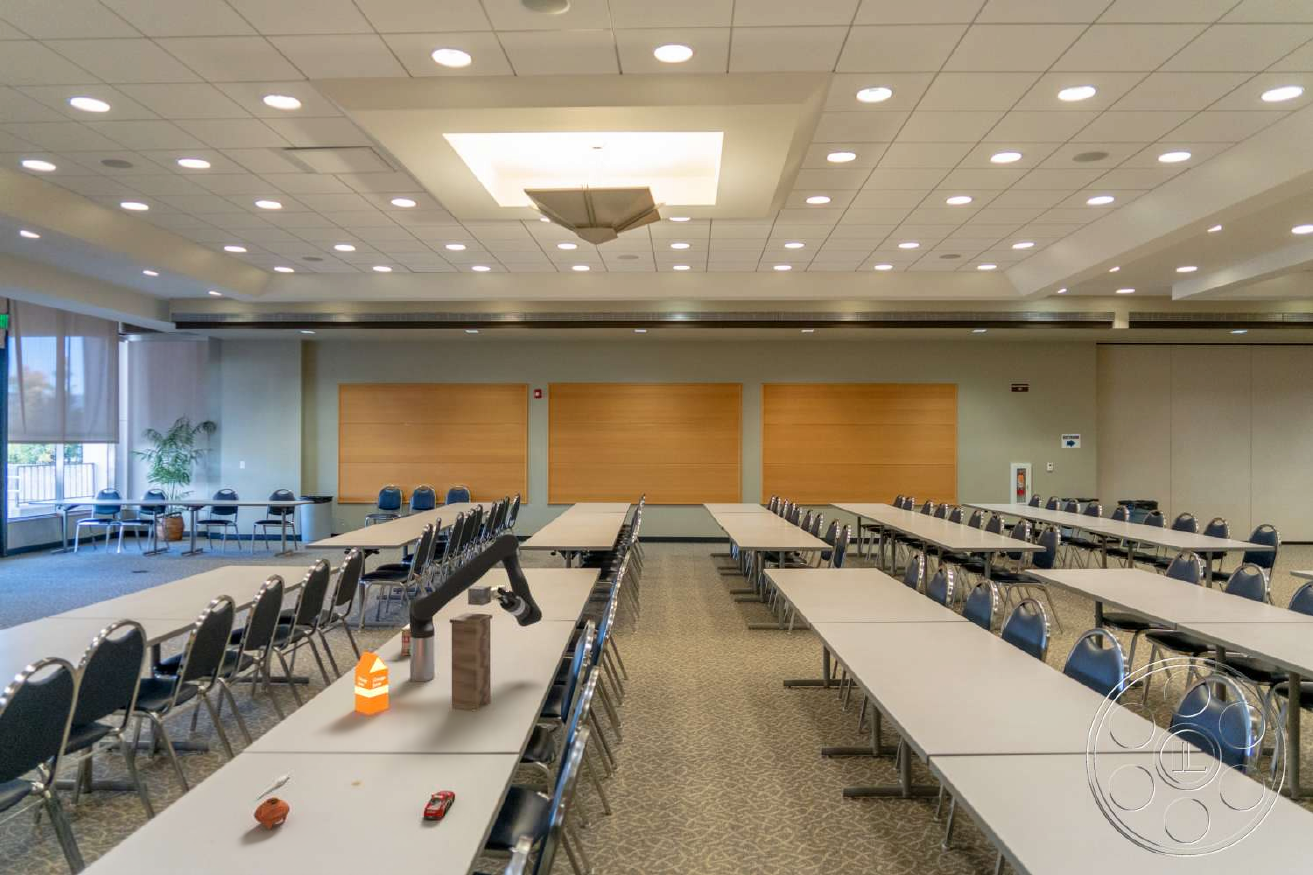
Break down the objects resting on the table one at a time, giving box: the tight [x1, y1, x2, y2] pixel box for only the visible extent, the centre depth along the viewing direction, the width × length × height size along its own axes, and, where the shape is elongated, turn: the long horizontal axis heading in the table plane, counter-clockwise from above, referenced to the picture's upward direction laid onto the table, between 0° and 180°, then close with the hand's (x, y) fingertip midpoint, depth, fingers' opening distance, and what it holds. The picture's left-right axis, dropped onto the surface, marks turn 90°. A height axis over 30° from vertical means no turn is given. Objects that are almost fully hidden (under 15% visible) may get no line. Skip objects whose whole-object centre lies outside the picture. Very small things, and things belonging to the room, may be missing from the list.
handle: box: [467, 584, 507, 606], centre depth 289 cm, size 20×6×6 cm, turn 162°
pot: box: [253, 797, 290, 830], centre depth 191 cm, size 8×8×7 cm
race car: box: [423, 790, 456, 820], centre depth 199 cm, size 13×5×4 cm, turn 176°
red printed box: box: [401, 622, 411, 656], centre depth 352 cm, size 21×6×12 cm, turn 1°
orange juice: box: [354, 651, 389, 715], centre depth 273 cm, size 8×9×20 cm
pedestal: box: [449, 612, 493, 712], centre depth 277 cm, size 11×11×32 cm
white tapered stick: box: [255, 771, 292, 801], centre depth 211 cm, size 15×3×2 cm, turn 171°
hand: (494, 589), depth 293 cm, fingers closed on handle, 3 cm apart
